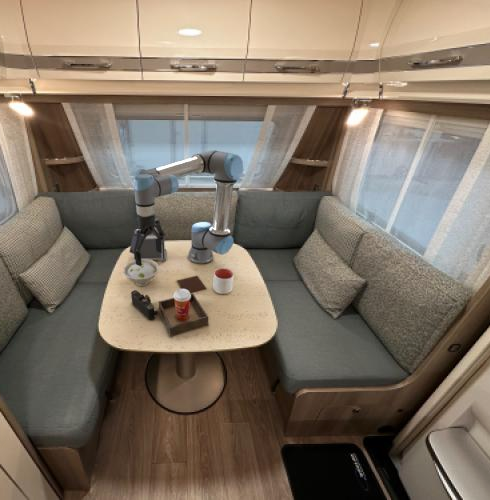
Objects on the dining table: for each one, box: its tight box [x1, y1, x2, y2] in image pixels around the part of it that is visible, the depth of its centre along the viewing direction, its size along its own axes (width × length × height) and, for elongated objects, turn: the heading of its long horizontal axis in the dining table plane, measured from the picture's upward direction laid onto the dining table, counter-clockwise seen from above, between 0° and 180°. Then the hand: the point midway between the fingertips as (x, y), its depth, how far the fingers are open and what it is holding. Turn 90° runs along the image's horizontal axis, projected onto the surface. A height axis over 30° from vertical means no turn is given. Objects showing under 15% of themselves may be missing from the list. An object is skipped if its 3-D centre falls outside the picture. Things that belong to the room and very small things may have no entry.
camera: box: [130, 289, 159, 321], centre depth 125 cm, size 16×7×8 cm, turn 42°
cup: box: [212, 267, 235, 295], centre depth 138 cm, size 10×10×10 cm
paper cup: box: [172, 288, 191, 322], centre depth 119 cm, size 8×8×14 cm
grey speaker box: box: [139, 227, 167, 262], centre depth 165 cm, size 18×13×18 cm
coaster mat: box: [177, 275, 207, 294], centre depth 144 cm, size 12×12×1 cm
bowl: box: [122, 259, 160, 287], centre depth 143 cm, size 19×19×10 cm
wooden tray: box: [157, 292, 209, 337], centre depth 121 cm, size 18×18×5 cm
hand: (149, 258), depth 119 cm, fingers open, 13 cm apart
